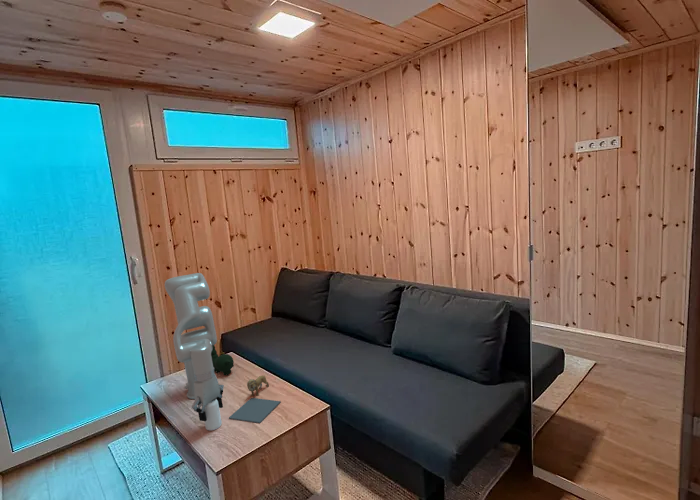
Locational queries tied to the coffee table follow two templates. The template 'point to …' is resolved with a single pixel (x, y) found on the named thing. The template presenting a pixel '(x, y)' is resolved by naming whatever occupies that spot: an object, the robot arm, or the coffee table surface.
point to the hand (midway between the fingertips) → (211, 413)
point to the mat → (255, 410)
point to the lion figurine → (256, 384)
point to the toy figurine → (221, 362)
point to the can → (212, 415)
